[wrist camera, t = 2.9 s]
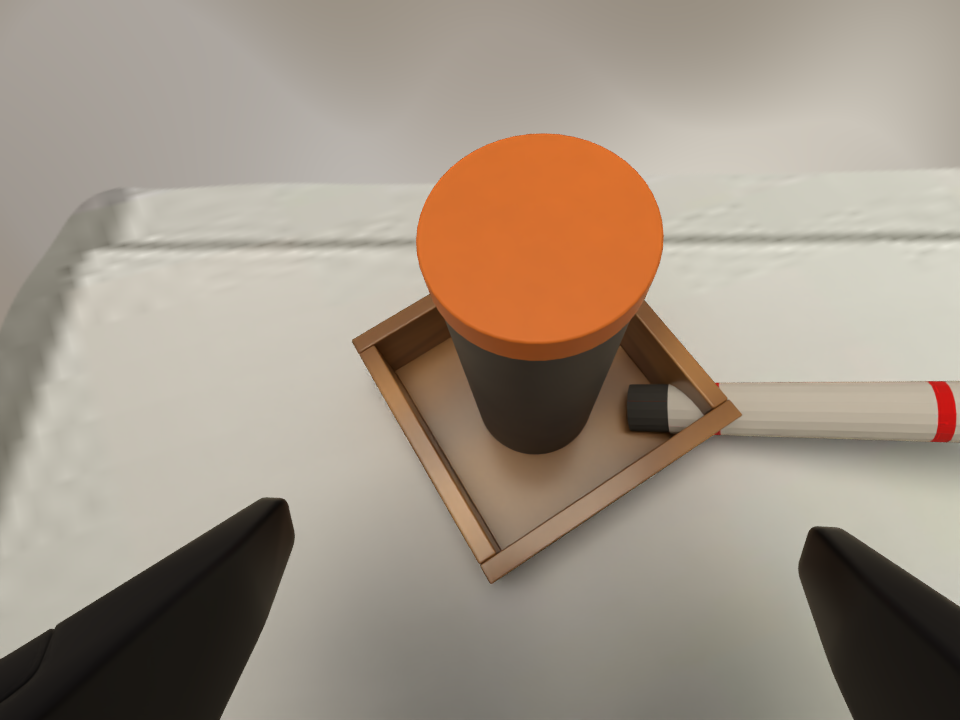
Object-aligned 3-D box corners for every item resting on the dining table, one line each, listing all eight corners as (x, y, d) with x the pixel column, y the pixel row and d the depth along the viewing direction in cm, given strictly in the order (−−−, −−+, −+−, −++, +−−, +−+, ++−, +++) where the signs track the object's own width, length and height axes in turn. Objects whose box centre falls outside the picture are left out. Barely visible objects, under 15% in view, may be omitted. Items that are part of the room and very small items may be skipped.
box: (710, 435, 21) (743, 414, 18) (497, 579, 20) (490, 584, 17) (564, 255, 25) (568, 210, 22) (375, 368, 24) (350, 339, 20)
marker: (633, 436, 22) (626, 424, 20) (634, 391, 22) (627, 376, 21) (1169, 455, 15) (1225, 440, 14) (1149, 391, 16) (1199, 369, 14)
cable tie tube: (617, 415, 22) (718, 255, 10) (517, 480, 21) (499, 393, 9) (549, 324, 23) (567, 97, 12) (454, 382, 23) (373, 205, 11)
